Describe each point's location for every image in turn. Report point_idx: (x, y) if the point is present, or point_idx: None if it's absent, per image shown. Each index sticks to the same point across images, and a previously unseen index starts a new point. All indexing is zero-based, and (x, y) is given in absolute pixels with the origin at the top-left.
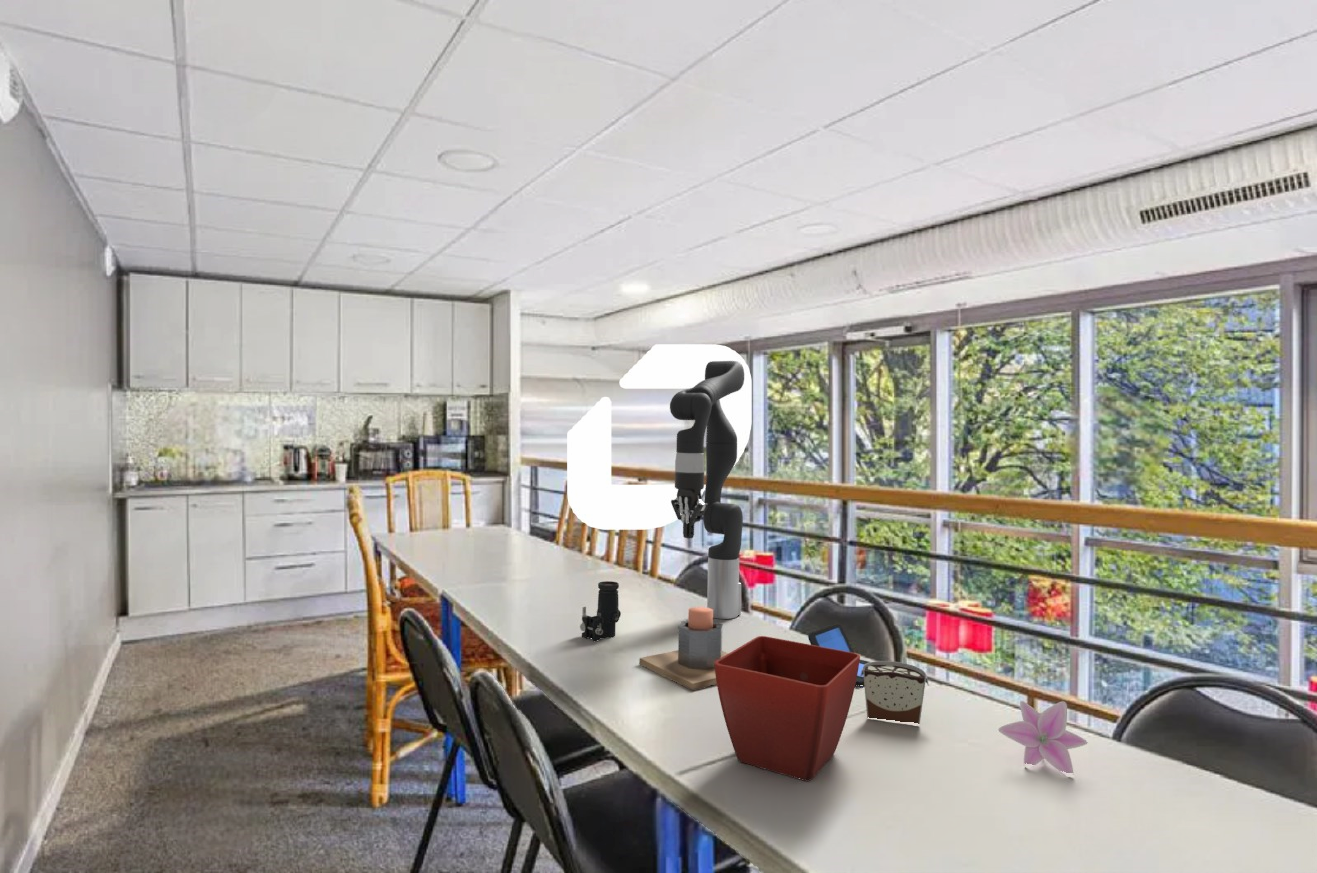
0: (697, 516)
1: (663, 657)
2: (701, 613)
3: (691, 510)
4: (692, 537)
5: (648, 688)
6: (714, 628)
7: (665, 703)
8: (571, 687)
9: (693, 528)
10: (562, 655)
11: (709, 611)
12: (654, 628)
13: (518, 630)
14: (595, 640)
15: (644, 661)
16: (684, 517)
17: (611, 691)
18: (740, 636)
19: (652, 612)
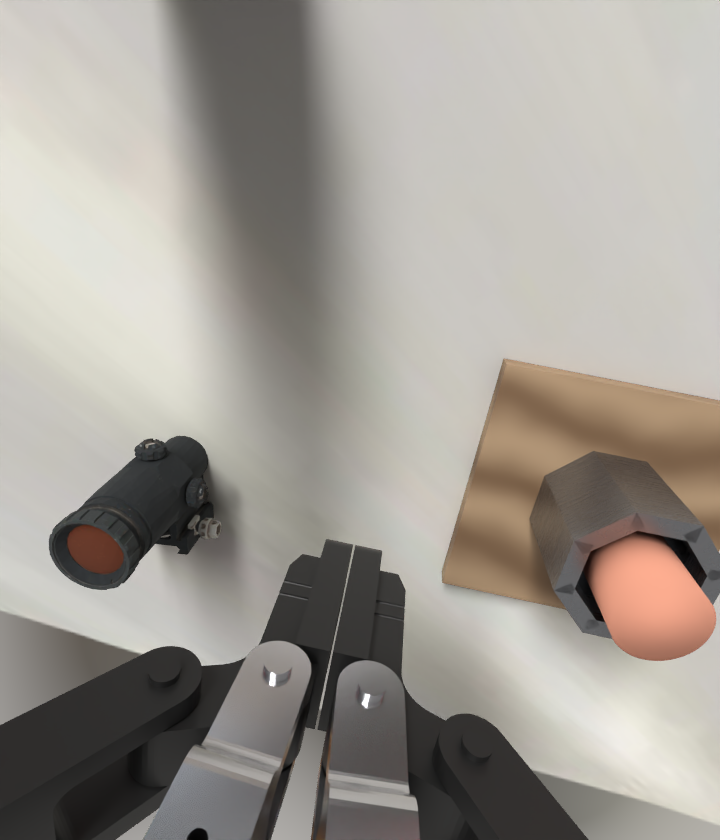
0: (475, 814)
1: (487, 542)
2: (689, 652)
3: (256, 836)
4: (379, 555)
5: (569, 660)
6: (705, 582)
7: (655, 695)
8: None
9: (401, 645)
10: (261, 631)
11: (705, 620)
12: (201, 289)
13: (19, 576)
14: (212, 517)
15: (465, 585)
16: (278, 808)
17: (518, 709)
18: (496, 102)
19: (5, 111)
